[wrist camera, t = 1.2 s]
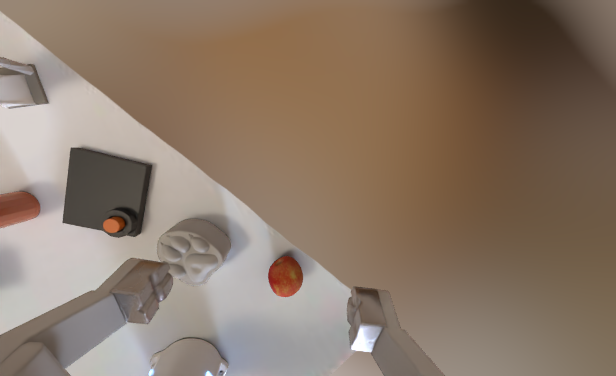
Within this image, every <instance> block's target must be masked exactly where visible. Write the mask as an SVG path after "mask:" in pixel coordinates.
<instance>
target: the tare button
mask: <svg viewBox="0 0 616 376" xmlns="http://www.w3.org/2000/svg"><path fill="white" fill-rule="evenodd" d="M124 227H125V221H124V220H123V219H122V218H121V217H117V216H116V217H112V218H110V219H107V220H106V221H105V222H104V223H103V228H104V229H105V231H107V232H109V233H115V232H117V231H119V230H121V229H123V228H124Z"/></svg>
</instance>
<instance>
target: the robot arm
mask: <svg viewBox="0 0 616 376" xmlns="http://www.w3.org/2000/svg"><path fill="white" fill-rule="evenodd" d="M169 270H170V266H169V263H163V262H157V261H150V260H144V259H137V258H131V259H128V260H127V261H126V262H125V263H124V264H122V265H121V266H120V267H119V268H118V269H117V270H116V271H115V272H114V273H113V274H112V275H111V276H110V277H109V278H108V279H107V280H106V281H105V282H104V283H103V284H102V285H101V286H100V287H99V288H98V289H97V290H96V291H89V292H87V293H85V294H83V295H81V296H79V297H77V298H75V299H73V300H71V301H69V302H67V303H65V304H63V305H61V306H59V307H57V308H55V309H53V310H51V311H48V312H46V313H44V314H42V315H40V316H38V317H36V318H34V319H32V320H30V321H28V322H26V323H24V324H22V325H20V326H18V327H16V328H14V329H12V330H10V331H8V332H6V333H4V334H2V335H0V376H70V374H69V373H68V372H67V371H66V370H65V368H67V367H68V366H69V365H71V364H72V363H74V362H75V361H76V360H78V359H79V358H80V357H82V356H83V355H84V354H86V353H87V352H88V351H90V350H91V349H92V348H94V347H95V346H97V345H98V344H99V343H101V342H102V341H103V340H105V339H106V338H107V337H109V336H110V335H111V334H113V333H114V332H115V331H117V330H118V329H120V328H121V327H122V326H124V325H125V324H126V322H131V323H142V324H148V323H149V322H150V320H151V319H152V318H153V316H154V315H155V313H156V312H157V310H158V309H159V302H161V301H162V300H164V299H165V298H166V297H167V296H168V294H169V293H170V290H171V288H172V285H173V277H172V275H171V274H170V273H169V272H168V271H169ZM351 295H352V297H350V298H349V300H348V303H347V321H348V322H349V324H350V325H351V327H350V330H349V339H350V348H351V349H353V350H360V351H367V352H371V354H372V356H373V358H374V359H375V361H376V363H377V365H378V366H379V368H380V370H381V371H382V373H383V375H384V376H445V375H444V374H443V373H442V372H441V371H440V369H439V368H438V367H437V366H436V365H435V364H434V363H433V361H432V360H431V359H430V358H429V357H428V356H427V355H426V353H425V352H424V351H423V350H422V349H421V348H420V347H419V346H418V345H417V343H416V342H415V341H414V340H413V339H412V338H411V336H410V335H409V334H408V333H407V332H406V331H405V330H402V329H401V327H400V324H399V321H398V318H397V315H396V312H395V309H394V305H393V303H392V300H391V296H390V293H389V292H388V291H386V290H378V289H372V288H363V287H353V288H352V290H351ZM227 368H228V363H227V362H226V361H225V360H224V359H222V358H221V357H220V355H219V353H218V351H217V350H216V348H215V347H214V346H213V345H211V344H210V343H208V342H206V341H204V340H201V339H195V338H188V339H182V340H179V341H177V342H175V343H173V344H171V345H170V346H169V347H168V348H167V349H165V350H164V351H161V352H158V353H156V354H154V355H153V357H152V359H151V371H150V373H149V376H224V375H225V373H226V371H227Z"/></svg>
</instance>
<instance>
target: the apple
mask: <svg viewBox="0 0 616 376" xmlns="http://www.w3.org/2000/svg"><path fill="white" fill-rule="evenodd" d="M268 279H269V283H270V286H271V288H272V290H273V292H274V293H275V294H276V295H278V296H281V297H289V296H292V295H293V294H295V293H296V292H297V291H298V290H299V289H300V287H301V285H302V282H303V273H302V270H301V267H300V265H299V264H298V262H297V261H296V260H295V259H294V258H292V257H290V256H284V257H281V258H279V259H278V260H276V261H275V262H274V263H273V264H272V265H271V267H270V269H269V273H268Z"/></svg>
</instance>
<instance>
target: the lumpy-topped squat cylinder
mask: <svg viewBox="0 0 616 376" xmlns="http://www.w3.org/2000/svg"><path fill="white" fill-rule="evenodd" d="M230 249H231V242H230V239H229V238H228V237H227V236H226V235H225V234H224V233H223V232H222V231H221V230H220V229H219V228H217V227H216V226H215V225H213V224H212V223H210V222H208V221H205V220H200V219H187V220H183V221H181V222H179V223H178V224H176V225H175V226H174V227H172V228H171V229H170V230H168V231H167V232H165V233H164V234H163V235H162V236H161V237H160V238H159V240H158V243H157V254H158V257H159V259H160V261H161V262H163V263H169V266H170V270H169V271H168V272H169V273H170V274H171V275H172V277H174V278H178V279H179V280H181V281H183V282H185V283H186V284H189V285H191V286H200V285H203V284H205V283H206V282H207V281H208V280H209V278H210V276H211V275H212V274H213V273H214V272H215V271H217V270H218V269H219V268H220V267H221V266H222V265H223V263H224V261H225V259H226V257H227V255H228V253H229V251H230Z"/></svg>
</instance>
